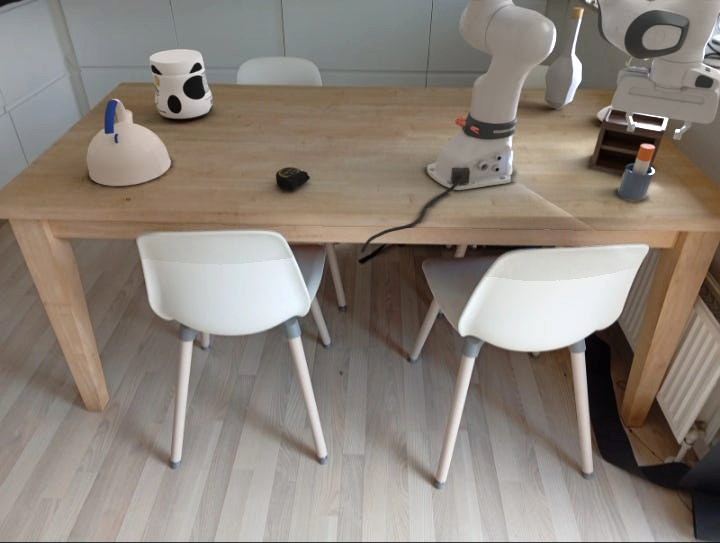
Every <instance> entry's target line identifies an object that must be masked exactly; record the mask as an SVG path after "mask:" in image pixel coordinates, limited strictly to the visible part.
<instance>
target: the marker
mask: <svg viewBox="0 0 720 543" xmlns="http://www.w3.org/2000/svg"><path fill="white" fill-rule="evenodd" d="M654 150H655V146H653V145H651V144H641V146H640V149H639V152H638V155H637V158H636V161H635V164H634V167H633V170H632V172H635V173H638V174H646V172H647V169H648V167H649V164H650V161H651V158H652V155H653V152H654Z"/></svg>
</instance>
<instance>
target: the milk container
mask: <svg viewBox="0 0 720 543" xmlns="http://www.w3.org/2000/svg"><path fill="white" fill-rule="evenodd" d="M148 61H149V67H150V71H151V76H152V80H153V84H154V104H155V106H156V109H157V112H158V113H159V114H160V115H161V117H163V118H166V119H168V120H173V121H188V120H195V119H200V118H202V117H205V116H206V115H208V114H209V113H210V112H212V109H213V107H214V106H213V105H214V99H213V94H212V93H213V92H212V91H211V89H210V87H209V84H208V81H207V74H206V68H205V63H204V58H203V55H202V53H201V52H200V51H198V50H195V49H187V48H185V49H184V48H178V49H168V50H162V51H161V50H160V51H158V52H155V53H153V54H152V55H150V56H149V59H148Z"/></svg>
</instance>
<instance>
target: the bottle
mask: <svg viewBox="0 0 720 543" xmlns="http://www.w3.org/2000/svg"><path fill="white" fill-rule="evenodd" d="M572 9H573V10H572V15H571V16H570V23H569V27H568V31H567V32H568V33H567V37H566V42H565V46H564V48H563V51H562V54H561V55H560V56H559V57H558V58H557V59H556V60H554V61H553V62H552V63H551V64H549V67H548V69H547V71H546V73H545V76H544V77H545V78H544V79H545V94H544V101H545V102H546V103H547V104H548V105H549V107H552V108H554V109H556V110H558V109H561V108H562V107H564V106H566V105H567V104H569V103H571V102H572V101H573V99H574V96H575V94H576V90H577V89H578V86H579V85H580V84H581V82H582V68H583V67H582V63H581V61H580V60H579V58H578V57H577V55H576V54H575V52H576V45H577V40H578V35H579V31H580V26H581V23H582V20H583V16H584V15H583V13H584V10H585V8H584V7H579V6H574V7H573V8H572Z"/></svg>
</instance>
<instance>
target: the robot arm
mask: <svg viewBox="0 0 720 543" xmlns="http://www.w3.org/2000/svg"><path fill="white" fill-rule="evenodd" d="M596 3H597V29H598V33H599V35H600V37H601V39H602V40H603V41H604V42H605V43H607V44H610V45H612V46H614V47H616V48H617V49H619V50H620V51H622V52H623V53H625V54H627V55H628V56H630V57H633V58H635V59H639V60H644V59H647V60H649V59H653V60H652V64H651V67H643V66H639V67H638V66H634V65H629V66H628V67H627V66H626V67H623V68H621V69H620V70H619V71H618V73H617V76H616V80H615V82H616V85H617V88H616V90H615V92H614V94H613V97H612V99H611V103H610V105H611V106H612V108H613V109H614V110H620V111H627V112H626V119H627V122H628V128H627V131H629V132H634V130H635V126H636V122H633V120H632V116H633V114H634V113H639V114H645V115H652V116H658V117H664V118H668V119H671V120H678V121H684V123H683V126H682V127H681V128H680V129H678V128H676V129H675V131H674V133H673V136H672V140H676V141H681V139H682V136H683V134H684V133H685V132H687V131H688V130H689V129H690V128H692V126H693V123H696V124H703V125H709V124H711V123H712V122H713V121H714V120H715V118H716V116H717V111H718V107H719V103H720V70H718V69H716V68H714V67H712V66H709V65H707V64H705V63H703V61H704V57H705V50H706V46H707V44H708V42H709V41H710V40H711V38H712V36H713V33H714V30H715V27H716V24H717V21H718V18H719V14H720V0H651V1H649V0H596ZM458 30H459V34H460V36H461V38H462V39H463V41H465V42H466V43H467V44H468V45H469V46H470V47H472V48H473V49H475V50H477V51H479V52H482V53H485V54H487V55H490V56H491V61H490V65H489V67H488V69H487V72H486V73H484V74H482V75H479V77H477V78H476V80H475V81H474V83H473V86H472V93H471V102H470V108H469V109H470V110H469V112H468V113H467V115H466V118H463V117H461V116H457V117H456V118H455V119H454V124H455V125H457V126H459V128H461V130H460V131H459V132H458V133H456V134H455V135H453V137H452V138H451V139H449V141H447V142H446V143H445V144H444V145H443V146H442V147H440V149H439V151H438V154H437V157H436V161H435V162H432V163H430V164H427V167H426V172H427V174H428V175H429V176H430V178H431V179H433V180H434V181H436V182H437V183H438V184H440V185H441V186H444V187H446V188H448V189H445V191H444V192H442V193H441V194H439V195H438V196H436V197H434V198H433V199H431V200H430V201H429V202H427V203H426V205H425V206H424V207H423V209H422V210H421V213H420V215H419V216H418V218H417V219H415V221H412V222H411V223H408V224H405V225H401V226H396V227H392V228H387V229H384V230H382V231H380V232H378V233H376V234H374V235H372V236H370V237H369V238H368V239H367V240H366V241H365V243H364V245H362V248H361V249H360V253H365V251H366V250H367V248H368V246H369V244H370V243H371V242H373V241H374V240H376V239H377V238H379V237H382V236H384V235H386V234H389V233H391V232H397V231H402V230H406V229H409V228H412V227H414V226H416V225H417V224H419V223H420V222H421V221H422V220H423V218H424V216H425V213H426V212H427V209H429V207H430V206H431V205H432V204H434V203H435V202H437V201H438V200H440V199H441V198H443V197H445V196H446V195H448V194H449V193H450V192H452V191H453V190H456V191H464V190H470V189H476V188H477V189H478V188H485V187H490V186H497V185H504V184H509V183H510V182H511V180H512V179H511V178H512V176H511V175H512V174H513V171H514V169H513V155H514V151H513V136H514V134H515V133H516V128H517V122H518V117H517V112H518V106H519V101H520V96H521V93H522V90H523V89H522V88H523V86H524V83H525V81H526V79H527V77H528V75H529V74H530V73H531V71H532V70H533V69H534V68H535V67H537V66H539V65H540V64H541V63H543V62H544V61H545V60H547V58H548V57H549V56H550V54H551V53H552V51H553V50H554V47H555V44H556V40H557V29H556V26H555V24H554V22H553V21H552V20H551V19H550V18H548V17H546V16H545V15H543V14H541V13H540V12H538V11H537V10H534V9H530V8H526V7H522V6H518V5H516V4H515V3H514V2H513V0H467V5H466V7H465V8H464V10H463V11H462V13H461V16H460V18H459V25H458ZM648 58H649V59H648Z"/></svg>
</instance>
